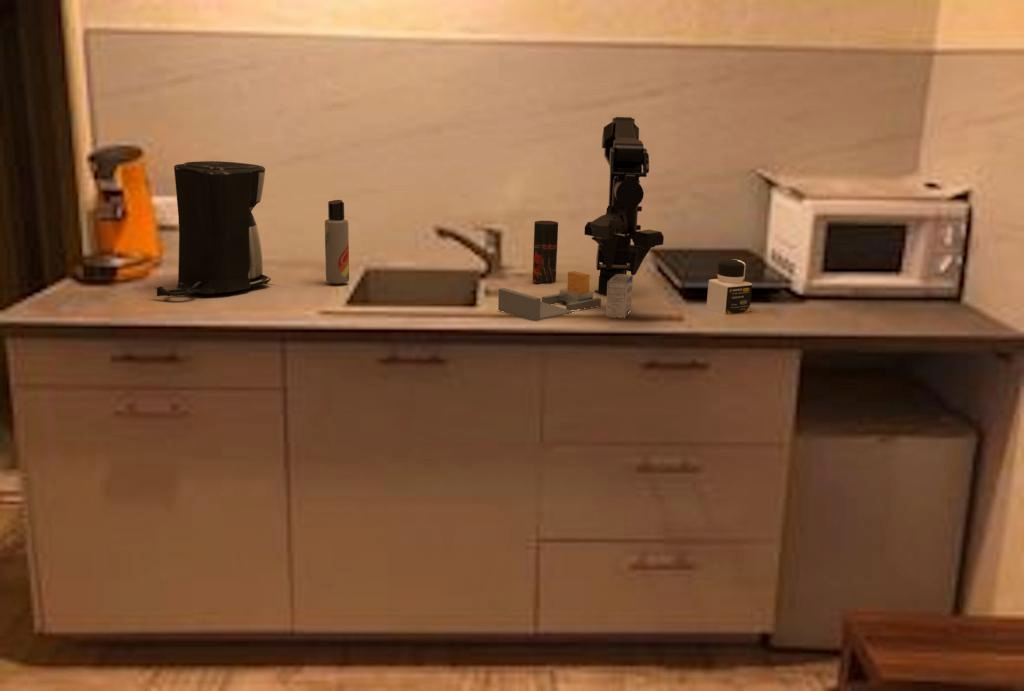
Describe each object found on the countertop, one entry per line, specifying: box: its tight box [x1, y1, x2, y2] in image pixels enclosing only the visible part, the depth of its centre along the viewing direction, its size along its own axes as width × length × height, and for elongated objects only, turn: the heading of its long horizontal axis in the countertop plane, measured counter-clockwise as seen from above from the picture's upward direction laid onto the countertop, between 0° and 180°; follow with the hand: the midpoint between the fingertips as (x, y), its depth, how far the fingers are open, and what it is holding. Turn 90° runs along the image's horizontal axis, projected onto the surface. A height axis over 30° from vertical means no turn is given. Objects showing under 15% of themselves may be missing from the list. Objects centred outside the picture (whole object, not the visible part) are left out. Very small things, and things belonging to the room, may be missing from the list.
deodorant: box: [532, 220, 559, 285], centre depth 257 cm, size 6×6×15 cm
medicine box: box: [605, 274, 634, 319], centre depth 226 cm, size 8×4×9 cm, turn 164°
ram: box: [558, 270, 594, 303], centre depth 234 cm, size 5×6×6 cm
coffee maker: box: [154, 160, 272, 297], centre depth 238 cm, size 20×28×29 cm
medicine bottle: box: [706, 258, 753, 315], centre depth 232 cm, size 7×7×12 cm
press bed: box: [497, 287, 602, 322], centre depth 230 cm, size 22×12×5 cm, turn 131°
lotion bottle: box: [324, 199, 350, 284], centre depth 249 cm, size 6×6×20 cm
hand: (620, 272), depth 224 cm, fingers open, 7 cm apart
